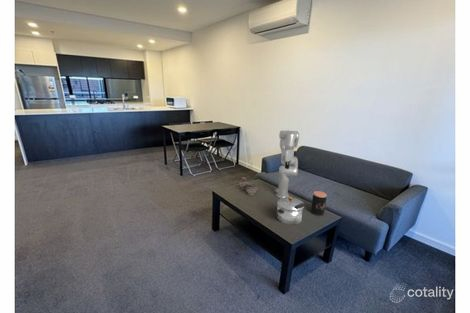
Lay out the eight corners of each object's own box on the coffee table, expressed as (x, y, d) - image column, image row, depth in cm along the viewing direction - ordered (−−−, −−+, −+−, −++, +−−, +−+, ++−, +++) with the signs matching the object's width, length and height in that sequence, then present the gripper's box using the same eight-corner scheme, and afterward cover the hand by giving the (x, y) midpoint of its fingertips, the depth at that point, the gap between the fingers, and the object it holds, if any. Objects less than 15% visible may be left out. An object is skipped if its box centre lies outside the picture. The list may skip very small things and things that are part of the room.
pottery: (245, 186, 243) (245, 175, 239) (259, 195, 222) (259, 184, 219) (236, 187, 237) (236, 177, 234) (249, 197, 216) (250, 186, 213)
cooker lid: (272, 203, 181) (272, 199, 180) (288, 196, 193) (289, 193, 192) (293, 213, 165) (293, 210, 164) (309, 205, 177) (310, 202, 176)
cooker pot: (268, 216, 183) (269, 203, 180) (288, 208, 198) (290, 195, 195) (288, 229, 167) (290, 214, 164) (308, 218, 183) (310, 205, 179)
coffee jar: (314, 216, 186) (317, 197, 181) (308, 210, 196) (311, 191, 191) (326, 215, 188) (329, 196, 183) (319, 209, 198) (322, 190, 193)
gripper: (291, 145, 191) (289, 165, 196) (279, 147, 182) (277, 168, 187) (298, 147, 185) (296, 168, 190) (286, 149, 176) (284, 171, 181)
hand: (286, 168), depth 188 cm, fingers closed
